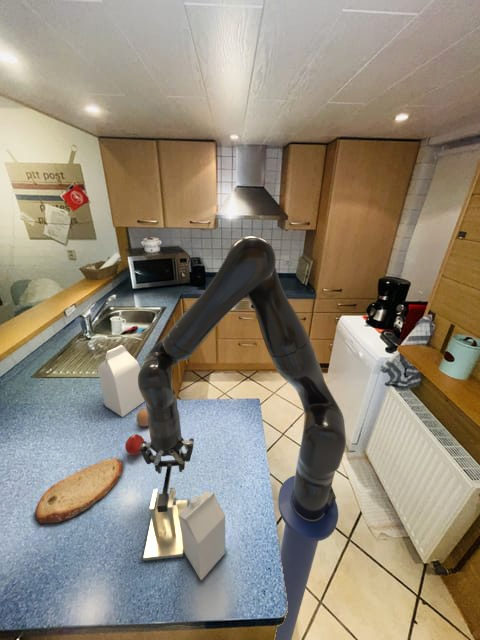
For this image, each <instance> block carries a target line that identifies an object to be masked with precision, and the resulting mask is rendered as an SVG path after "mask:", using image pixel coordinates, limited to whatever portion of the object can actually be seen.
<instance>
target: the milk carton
mask: <svg viewBox="0 0 480 640" xmlns="http://www.w3.org/2000/svg"><path fill="white" fill-rule="evenodd" d="M179 520H180V528H181V535H182V543H183V554H185V557H186V558H187V559H188V561H189V563H190V565H191V567H193V569H194V572H196V574H197V576H198V578H199V579H200V580H201V581H202V580H204V578H205V577H206V576H207V575H208V574H209V572H211V570H212V569H213V568H214V567H215V566H216V565H217V563H218V562H219V561H220V560H221V558H222V557H224V555H225V554H226V515H225V513H224V511H223V508H222V507H221V505H220V502H219V501H218V499H217V496H216V493H215V491H213V492H208V491H204V492H203V493H202V494H201V495H200V496H199V495H196V496H194V497H192V498H191V500H190V501H189V505H188V506H187V508H186V509H185V510H184V511H183V512H182V513H181V514H179Z"/></svg>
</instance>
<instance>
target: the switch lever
mask: <svg viewBox="0 0 480 640" xmlns="http://www.w3.org/2000/svg"><path fill="white" fill-rule="evenodd" d="M178 463H179V462H178V461H177V460H175V459H171V460H170V459H168V460H161V462H160V467H162V468H166V470H165V476H164V482H163V487H162V493H159V498H158V503H157V510H158V512H167V511H168V501H169V495H170V493H169V488H170V487H169V486H170V480H171V474H172V473H171V472H172V470H173V469H172V467H176V466H177V467H179V465H178Z"/></svg>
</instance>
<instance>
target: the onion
mask: <svg viewBox="0 0 480 640" xmlns="http://www.w3.org/2000/svg"><path fill="white" fill-rule="evenodd" d="M143 441H145V439H144V438H143V437H142V436H141V435H140V434H132V435H131V436H129V437H128V438H127V440H126V442H125V445H124V449H125V451H126V453H127V454H128V455H130V456H135V455H138V454H141V453H140V448H141V444H142V442H143Z"/></svg>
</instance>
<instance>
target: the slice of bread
mask: <svg viewBox="0 0 480 640" xmlns="http://www.w3.org/2000/svg"><path fill="white" fill-rule="evenodd" d="M122 473H123V462H122V461H121V460H119V459H117V458H109V459H105V460H102V461H99V462H97V463H94V464H93V465H90V466H87V467H85V468H83V469H80V470H79V471H77V472H76V471H75V472H74V473H72V474H70V475H68V476H67V477H64V478H63V479H61V480H59V481H57V482H56V483H54V484H52V485H51V486H50V487H49V488H48V489H47V490H46V491H45V492H44V493H43V495H42V496H41V498H39V501H38V503H37V505H36V508H35V518H36V520H37V521H38V522H39V523H40V524H47V523H60V522H63V521H66V520H70V519H71V518H73V517H75V516H78V515H79V514H81V513H83V512H85V511H86V510H88V509H90V508H91V507H93V505H94V504H95V503H97V502H98V501H101V500H102V499H103V498H104V497H105V496H106V495H107V494H108V493H109V492H110V490H112V489H113V488H114V487H115V485H116V484H117V482H118V481H119V479H120V477H121V475H122Z"/></svg>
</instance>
